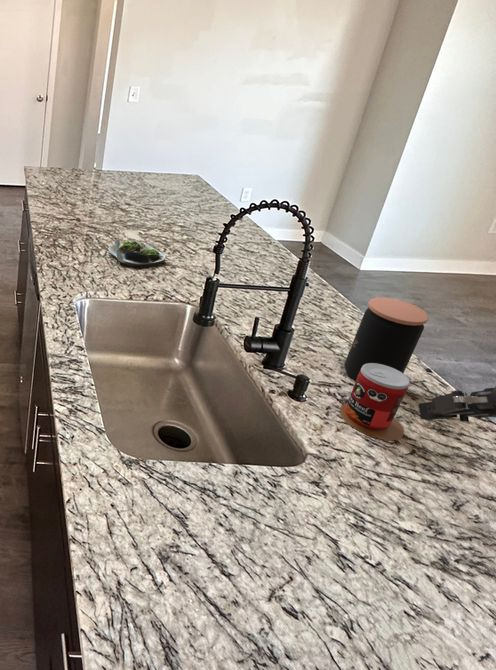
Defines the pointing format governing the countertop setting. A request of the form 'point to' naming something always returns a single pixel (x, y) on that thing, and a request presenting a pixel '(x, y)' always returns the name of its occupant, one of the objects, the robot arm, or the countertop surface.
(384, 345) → the coffee jar
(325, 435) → the countertop surface
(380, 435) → the cork coaster
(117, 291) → the countertop surface
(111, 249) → the salad plate
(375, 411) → the canned food
